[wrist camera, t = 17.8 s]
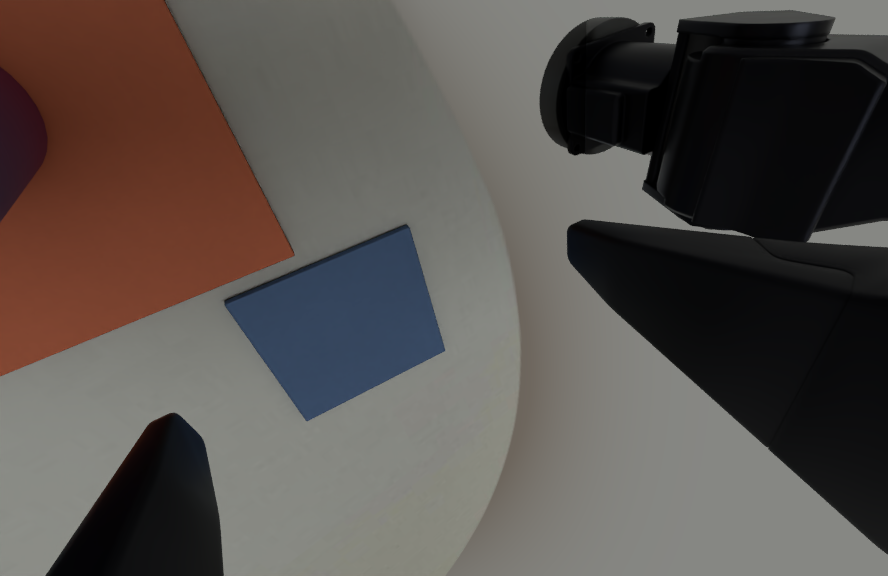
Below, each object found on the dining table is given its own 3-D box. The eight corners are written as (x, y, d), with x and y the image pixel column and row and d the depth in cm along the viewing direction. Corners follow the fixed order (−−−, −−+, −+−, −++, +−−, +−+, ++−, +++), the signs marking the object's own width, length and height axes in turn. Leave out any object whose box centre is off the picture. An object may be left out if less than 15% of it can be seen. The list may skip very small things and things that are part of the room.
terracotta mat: (116, -93, 13) (114, -96, 12) (293, 252, 21) (295, 255, 20) (-667, 53, 9) (-698, 54, 9) (-83, 405, 17) (-88, 412, 17)
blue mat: (406, 224, 23) (409, 227, 22) (442, 347, 29) (445, 350, 29) (223, 300, 20) (224, 305, 20) (305, 417, 27) (306, 421, 26)
